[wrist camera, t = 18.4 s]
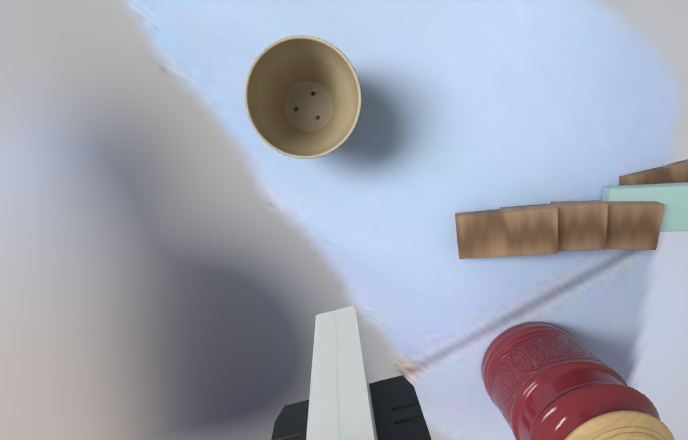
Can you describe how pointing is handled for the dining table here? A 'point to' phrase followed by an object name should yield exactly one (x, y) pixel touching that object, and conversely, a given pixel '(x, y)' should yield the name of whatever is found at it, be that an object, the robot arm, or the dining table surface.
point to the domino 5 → (679, 199)
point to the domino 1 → (508, 232)
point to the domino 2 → (580, 224)
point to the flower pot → (303, 97)
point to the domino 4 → (658, 175)
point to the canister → (563, 390)
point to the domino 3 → (633, 224)
